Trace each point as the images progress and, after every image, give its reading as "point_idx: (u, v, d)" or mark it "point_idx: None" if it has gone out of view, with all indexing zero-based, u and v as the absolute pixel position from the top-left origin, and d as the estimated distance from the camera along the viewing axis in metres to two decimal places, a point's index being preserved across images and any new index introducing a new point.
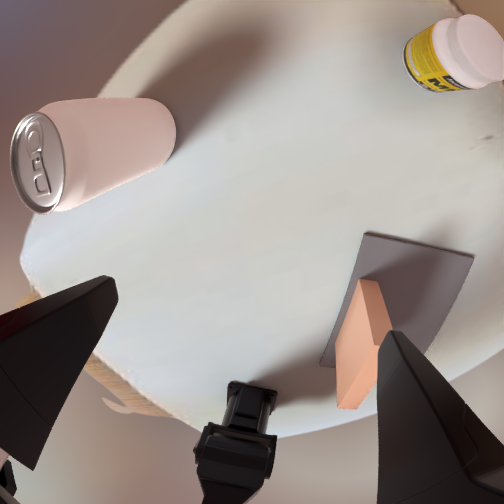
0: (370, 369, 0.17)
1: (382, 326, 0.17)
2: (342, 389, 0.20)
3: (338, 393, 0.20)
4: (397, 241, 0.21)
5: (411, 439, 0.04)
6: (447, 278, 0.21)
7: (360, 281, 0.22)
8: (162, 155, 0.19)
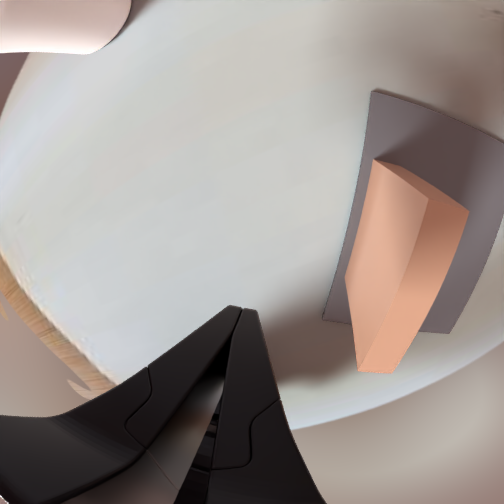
0: (423, 269, 0.08)
1: (429, 189, 0.09)
2: (366, 334, 0.11)
3: (358, 345, 0.12)
4: (419, 105, 0.12)
5: None
6: (491, 175, 0.12)
7: (376, 160, 0.14)
8: (109, 18, 0.11)
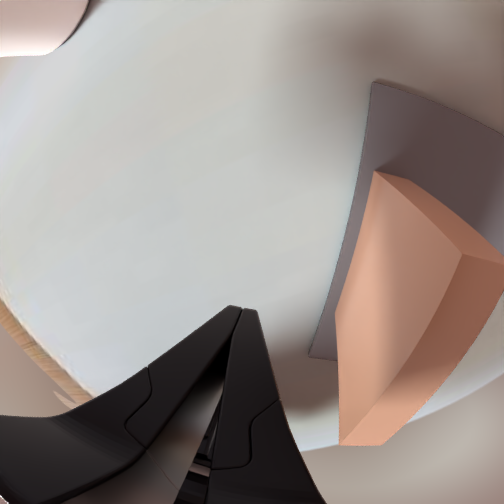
0: (438, 349, 0.05)
1: (456, 225, 0.06)
2: (352, 406, 0.08)
3: (343, 412, 0.09)
4: (433, 102, 0.09)
5: None
6: None
7: (378, 172, 0.11)
8: (62, 13, 0.07)
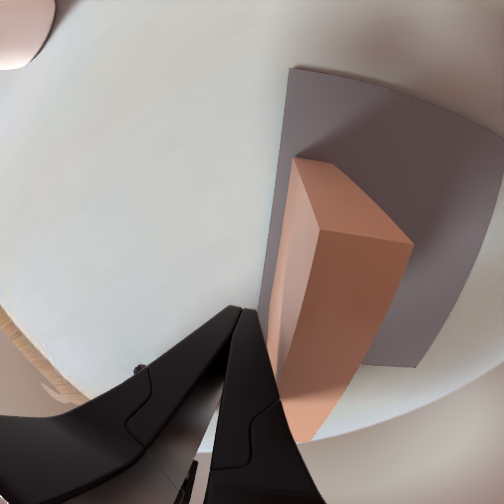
0: (326, 341, 0.05)
1: (349, 201, 0.06)
2: None
3: None
4: (358, 81, 0.09)
5: None
6: (471, 172, 0.10)
7: (295, 158, 0.11)
8: (29, 33, 0.08)
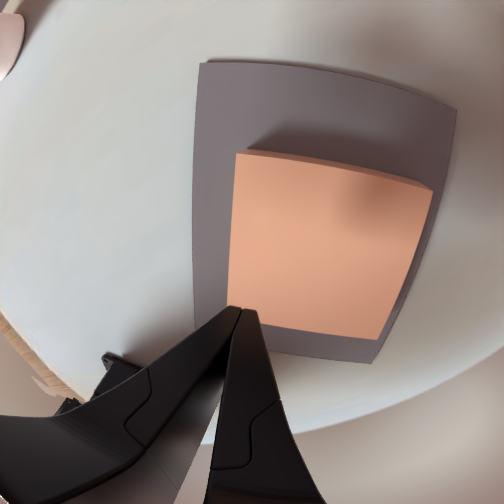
0: None
1: (384, 174, 0.10)
2: (369, 317, 0.12)
3: (357, 331, 0.13)
4: (267, 64, 0.10)
5: None
6: (408, 146, 0.10)
7: (248, 154, 0.10)
8: (2, 52, 0.08)
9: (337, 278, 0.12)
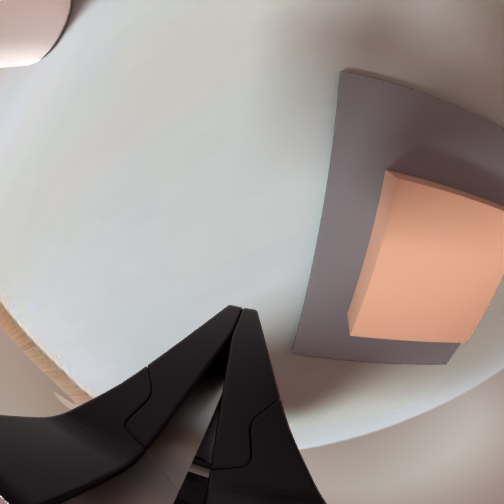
0: None
1: (491, 203, 0.09)
2: (467, 323, 0.11)
3: (455, 336, 0.12)
4: (406, 87, 0.09)
5: None
6: (503, 177, 0.09)
7: (406, 180, 0.09)
8: (44, 25, 0.08)
9: (453, 293, 0.11)
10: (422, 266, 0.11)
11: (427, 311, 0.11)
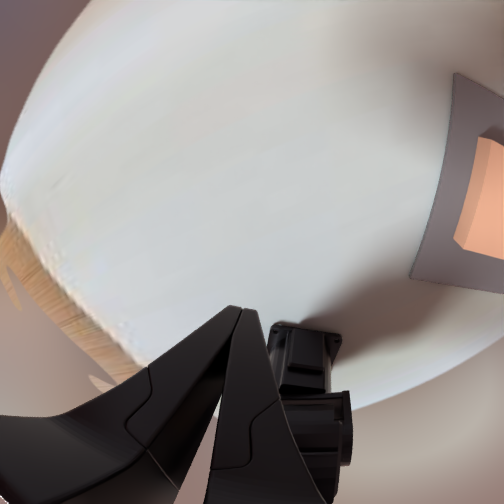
0: None
1: None
2: None
3: None
4: (486, 89, 0.11)
5: None
6: None
7: None
8: None
9: None
10: (502, 197, 0.13)
11: None
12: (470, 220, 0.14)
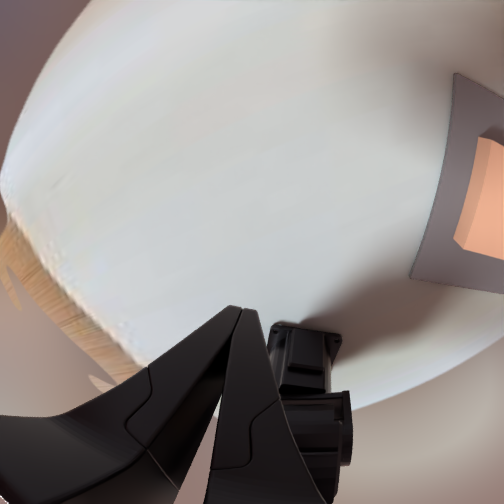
0: None
1: None
2: None
3: None
4: (486, 89, 0.11)
5: None
6: None
7: (495, 142, 0.11)
8: None
9: None
10: (502, 197, 0.13)
11: None
12: (470, 220, 0.14)
